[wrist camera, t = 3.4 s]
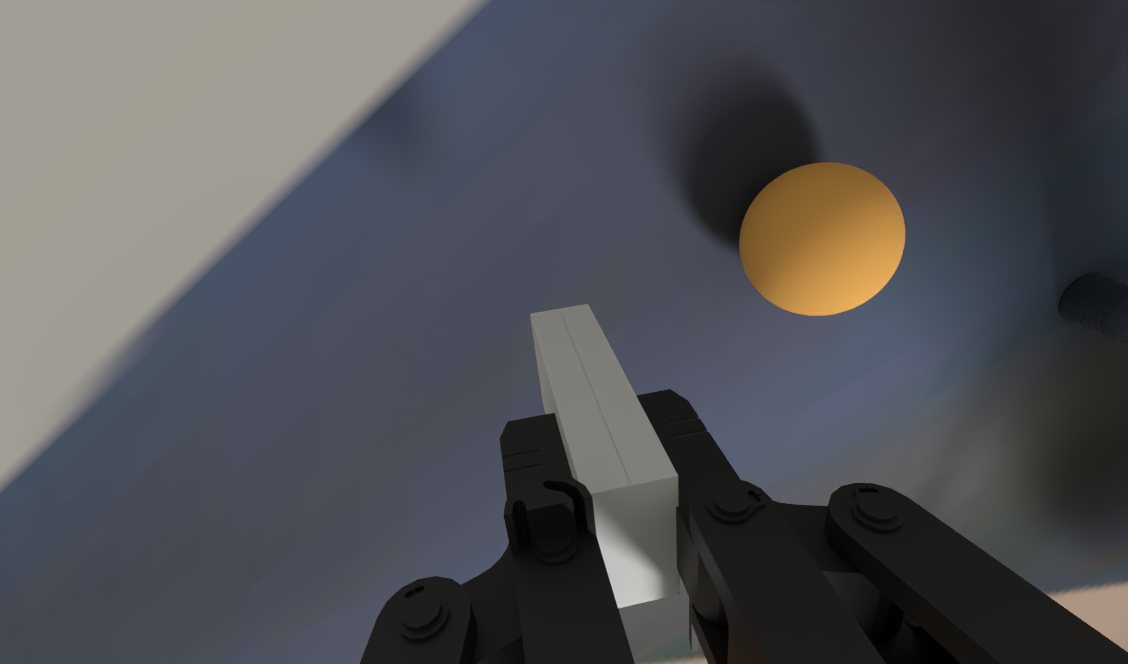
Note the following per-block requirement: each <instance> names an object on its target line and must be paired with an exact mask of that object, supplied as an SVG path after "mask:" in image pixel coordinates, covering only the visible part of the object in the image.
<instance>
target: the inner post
mask: <svg viewBox="0 0 1128 664" xmlns="http://www.w3.org/2000/svg"><path fill="white" fill-rule="evenodd" d="M1059 311H1060V314H1061V316H1062V317H1063V318H1064V319H1066V320H1068V321H1070V322H1073V323H1075V324H1077V325H1079V326H1082V327H1084V328H1086V329H1088V330H1090V331H1093V332H1095V333H1097V334H1099V335H1102V336H1104V337H1106V338H1108V339H1111V340H1113V341H1115V342H1117V343H1119V344H1122V345H1124V346H1126V347H1128V283H1126V282H1123V281H1120V280H1117V279H1114V278H1111V277H1109V276H1106V275H1103V274H1100V273H1091V274H1087V275H1085V276H1083V277H1081V278H1079V279H1078V280H1076V281H1075V282H1074V283H1073V284H1072V285H1071V286H1070V287H1069V288H1068V289H1067V290H1066V292H1065V293H1064V295H1063V297H1062V299H1061V301H1060V306H1059Z"/></svg>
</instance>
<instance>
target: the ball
mask: <svg viewBox="0 0 1128 664" xmlns="http://www.w3.org/2000/svg"><path fill="white" fill-rule="evenodd" d="M904 244H905V225H904V218H903V215H902V212H901V209H900V207H899V204H898V202H897V200H896V198H895V197H894V195H893V194H892V193H891V191H890V190H889V189H888V188H887V187H886V186H885V185H884V184H883V183H882V182H881V181H880V180H879V179H877V178H876V177H875V176H873V175H872V174H870V173H868V172H866V171H864V170H862V169H859V168H857V167H855V166H851V165H847V164H842V163H834V162H823V163H812V164H808V165H804V166H800V167H797V168H795V169H792V170H790V171H788V172H786V173H784V174H782V175H780V176H779V177H777V178H776V179H774V180H773V181H772V182H770V183H769V184H768V185H767V186H765V187H764V188H763V189H762V190H761V192H760V193H759V194H758V195H757V196H756V198H755V199H754V200H753V202H752V203H751V205H750V206H749V208H748V210H747V212H746V214H745V217H744V220H743V222H742V226H741V231H740V240H739V251H740V257H741V261H742V265H743V268H744V271H745V273H746V275H747V277H748V278H749V280H750V282H751V283H752V285H753V286H754V287H755V288H756V290H757V291H758V292H759V293H760V294H761V295H762V296H763V297H764V298H766V299H767V300H769V301H770V302H772V303H773V304H775V305H776V306H778V307H780V308H782V309H785V310H788V311H790V312H794V313H797V314H804V315H810V316H821V315H832V314H836V313H840V312H844V311H847V310H850V309H853V308H855V307H857V306H859V305H861V304H862V303H864V302H866V301H867V300H869V299H870V298H871V297H873V296H874V295H875V294H877V293H878V292H879V291H880V290H881V289H882V288H883V287H884V286H885V285H886V284H887V282H888V281H889V280H890V278H891V277H892V276H893V274H894V272H895V271H896V269H897V267H898V265H899V262H900V259H901V257H902V253H903V249H904Z"/></svg>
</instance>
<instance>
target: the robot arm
mask: <svg viewBox="0 0 1128 664" xmlns="http://www.w3.org/2000/svg"><path fill="white" fill-rule="evenodd" d="M530 318H531V324H532V331H533V338H534V345H535V352H536V358H537V365H538V372H539V379H540V386H541V393H542V399H543V405H544V409H545V413H546V415H540V416H535V417H530V418H525V419H519V420H514V421H509V422H507V424H506V427H505V429H504V431H503V433H502V435H501V437H500V445H501V453H502V461H503V469H504V477H505V485H506V493H507V501H506V503H505V510H504V519H505V524H506V529H507V534H508V539H509V544H508V547H507V549H506V551H505V552H504V554H503V555H502V557H501V558H500V559H499V560H498V561H497V562H496V563H495V564H494V565H493V566H492V567H491V568H490V569H488V570H487V571H485V572H484V573H482V574H481V575H479V576H477V577H475V578H473V579H471V580H469V581H467V582H466V583H464V584H462V585H460V584H458V583H457V582H455V581H454V580H452V579H449V578H443V577H437V576H434V577H429V578H423V579H418V580H416V581H414V582H412V583H410V584H408V585H406V586H404V587H402V588H401V589H400V590H399V591H398V592H397V593H395V594H394V595H393V596H392V597H391V598H390V599H389V600H388V601H387V602H386V604H385V606H384V607H383V609H382V611H381V612H380V614H379V616H378V617H377V620H376V623H375V625H374V628H373V631H372V633H371V636H370V638H369V641H368V644H367V646H366V649H365V652H364V654H363V657H362V659H361V662H360V664H635V663H634V660H633V657H632V653H631V650H630V647H629V643H628V640H627V637H626V633H625V630H624V626H623V623H622V620H621V616H620V613H619V610H618V608H622V607H626V606H630V605H635V604H639V603H643V602H648V601H652V600H656V599H661V598H665V597H669V596H674V595H678V594H680V576H681V579H682V581H683V583H684V586H685V588H686V590H687V593H688V595H689V640H690V646H691V651H692V652H694V651H698V640H699V642H700V645H701V647H702V650H703V652H704V655H705V657H706V659H707V662H708V664H1128V652H1126V651H1125V650H1124V649H1122V648H1121V647H1119V646H1118V645H1117V644H1115V643H1114V642H1112V641H1111V640H1109V639H1108V638H1107V637H1105V636H1103V635H1102V634H1101V633H1100V632H1098V631H1097V630H1095V629H1094V628H1092V627H1091V626H1090V625H1088V624H1087V623H1085V622H1084V621H1082V620H1081V619H1080V618H1078V617H1077V616H1075V615H1074V614H1073V613H1071V612H1070V611H1068V610H1067V609H1065V608H1064V607H1063V606H1061V605H1060V604H1058V603H1057V602H1055V601H1054V600H1053V599H1051V598H1050V597H1048V596H1047V595H1046V594H1044V593H1043V592H1041V591H1040V590H1038V589H1037V588H1036V587H1034V586H1033V585H1031V584H1030V583H1029V582H1027V581H1026V580H1024V579H1023V578H1021V577H1020V576H1019V575H1017V574H1016V573H1014V572H1013V571H1011V570H1010V569H1009V568H1007V567H1006V566H1004V565H1003V564H1002V563H1000V562H999V561H997V560H996V559H994V558H993V557H992V556H990V555H989V554H987V553H986V552H984V551H983V550H982V549H980V548H979V547H977V546H976V545H975V544H973V543H972V542H970V541H969V540H967V539H966V538H965V537H963V536H962V535H960V534H959V533H957V532H956V531H955V530H953V529H952V528H950V527H949V526H948V525H946V524H945V523H943V522H942V521H940V520H939V519H938V518H936V517H935V516H933V515H932V514H931V513H929V512H928V511H926V510H925V509H923V508H922V507H921V506H919V505H918V504H916V503H915V502H913V501H912V500H911V499H909V498H908V497H906V496H904V495H902V494H900V493H898V492H897V491H895V490H893V489H891V488H887V487H884V486H880V485H876V484H872V483H853V484H849V485H845V486H841V487H840V488H839V489H837V490H836V491H835V492H834V493H832V494H831V497H830V501H829V504H828V506H811V505H793V504H785V503H779V502H776V501H772V499H771V498H770V497H769V496H768V495H767V494H766V493H765V492H764V491H763V490H762V489H761V488H759V487H757V486H755V485H753V484H751V483H749V482H747V481H743V480H740V478H739V477H738V475H737V474H736V472H735V471H734V469H733V468H732V466H731V465H730V463H729V462H728V460H727V459H726V457H725V456H724V454H723V453H722V451H721V450H720V448H719V447H718V445H717V444H716V442H715V441H714V439H713V438H712V436H711V435H710V433H709V432H707V429H706V427H705V426H704V424H703V423H702V421H701V420H700V419H699V418H698V415H697V413H696V412H695V410H694V409H693V407H692V406H691V404H690V403H689V401H688V400H686V399H685V398H683V397H681V396H680V395H678V394H677V393H675V392H674V391H672V390H670V389H668V390H663V391H658V392H653V393H647V394H642V395H637V396H636V394H635V393H634V391H633V389H632V387H631V385H630V383H629V381H628V379H627V377H626V375H625V374H624V372H623V370H622V368H621V366H620V364H619V362H618V360H617V358H616V356H615V354H614V353H613V351H612V349H611V347H610V345H609V343H608V341H607V339H606V337H605V335H604V333H603V332H602V330H601V328H600V326H599V324H598V322H597V320H596V318H595V316H594V314H593V313H592V311H591V309H590V307H589V305H588V304H585V305H579V306H573V307H567V308H561V309H555V310H549V311H544V312H538V313H532V314H530ZM679 574H680V575H679Z"/></svg>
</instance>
